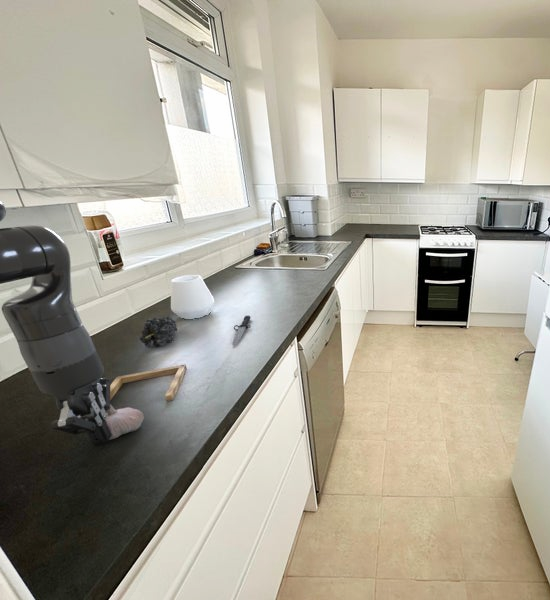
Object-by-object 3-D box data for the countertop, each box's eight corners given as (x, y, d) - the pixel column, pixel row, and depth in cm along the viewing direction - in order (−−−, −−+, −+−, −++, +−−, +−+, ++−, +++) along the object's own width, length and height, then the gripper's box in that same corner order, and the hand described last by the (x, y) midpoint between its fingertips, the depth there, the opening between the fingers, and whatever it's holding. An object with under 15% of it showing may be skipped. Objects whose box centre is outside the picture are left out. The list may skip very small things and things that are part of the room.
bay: (173, 400, 69) (171, 394, 69) (92, 417, 65) (89, 411, 64) (187, 368, 81) (185, 364, 80) (119, 381, 76) (116, 376, 76)
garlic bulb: (84, 448, 57) (67, 414, 54) (115, 420, 64) (100, 387, 61) (128, 445, 58) (113, 410, 55) (154, 417, 64) (141, 385, 62)
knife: (241, 341, 91) (222, 343, 90) (242, 347, 92) (224, 349, 91) (254, 314, 108) (238, 315, 107) (255, 319, 109) (240, 320, 108)
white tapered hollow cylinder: (225, 311, 116) (216, 275, 111) (188, 325, 105) (177, 286, 100) (202, 305, 122) (193, 271, 117) (166, 318, 111) (154, 281, 106)
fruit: (158, 304, 99) (135, 322, 86) (188, 308, 102) (171, 327, 89) (155, 328, 101) (133, 350, 88) (185, 332, 104) (168, 354, 91)
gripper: (58, 342, 54) (95, 421, 60) (-2, 385, 42) (52, 478, 48) (111, 334, 56) (142, 411, 62) (69, 373, 45) (112, 463, 51)
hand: (103, 440), depth 55 cm, fingers closed
